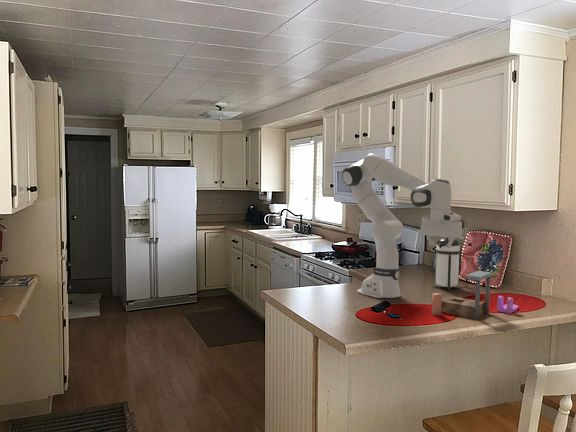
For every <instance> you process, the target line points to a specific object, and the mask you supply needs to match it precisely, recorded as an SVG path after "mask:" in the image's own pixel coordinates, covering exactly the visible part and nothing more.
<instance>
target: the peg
mask: <svg viewBox="0 0 576 432" xmlns="http://www.w3.org/2000/svg"><path fill="white" fill-rule="evenodd" d="M442 296H443V294H442V293H438V292H434V293H432V295H431V300H432V301H431V315H432V314H433V316H442V312H441V303H442V300H443V297H442Z"/></svg>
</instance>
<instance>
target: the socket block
mask: <svg viewBox="0 0 576 432" xmlns="http://www.w3.org/2000/svg"><path fill="white" fill-rule="evenodd" d="M444 312H445V314H448V315H449V314H450V315H453V316H454V315H455V316H459V317H464V318H465V317H466V318H469V319H474V316H475V299H468V298H463V297H457V296H451V295H450V296H448V297H445V298H442V303H441V313H444ZM484 314H485V301H480V304H479V317H480V316H481V315H484Z"/></svg>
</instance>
